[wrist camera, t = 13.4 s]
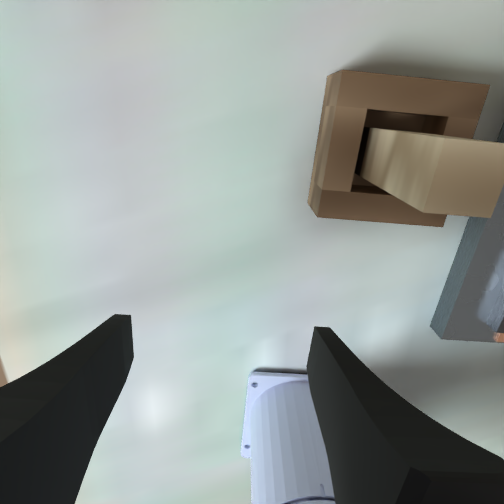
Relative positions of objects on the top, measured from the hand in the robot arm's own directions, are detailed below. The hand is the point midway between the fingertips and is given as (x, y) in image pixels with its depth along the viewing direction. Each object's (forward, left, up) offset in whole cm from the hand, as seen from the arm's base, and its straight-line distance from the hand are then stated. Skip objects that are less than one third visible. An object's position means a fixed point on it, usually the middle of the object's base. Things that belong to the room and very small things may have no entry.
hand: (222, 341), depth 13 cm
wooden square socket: (+7, -8, -9) cm, 14 cm away
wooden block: (+7, -8, -9) cm, 14 cm away
